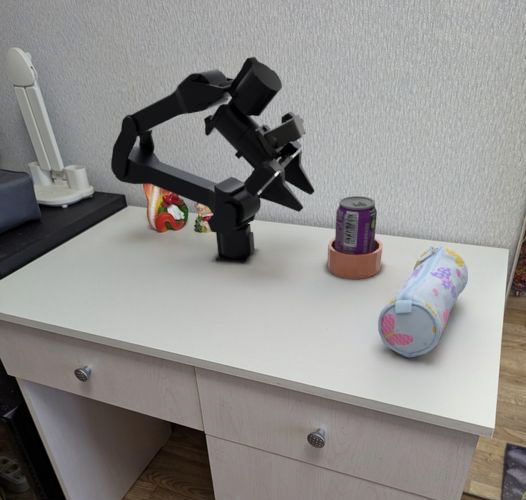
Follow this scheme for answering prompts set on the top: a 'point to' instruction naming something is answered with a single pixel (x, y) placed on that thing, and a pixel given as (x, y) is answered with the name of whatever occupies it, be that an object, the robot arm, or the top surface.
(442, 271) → the pencil case
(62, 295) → the top surface
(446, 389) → the top surface
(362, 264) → the can holder
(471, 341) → the top surface
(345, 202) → the beverage can
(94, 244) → the top surface
